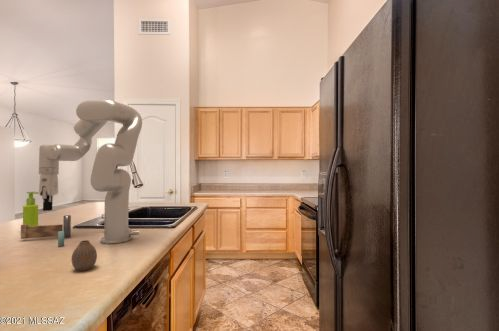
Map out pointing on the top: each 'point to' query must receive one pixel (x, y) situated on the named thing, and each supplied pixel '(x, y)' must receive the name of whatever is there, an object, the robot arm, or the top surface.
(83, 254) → the vase
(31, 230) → the gate
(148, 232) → the top surface
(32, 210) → the soap dispenser
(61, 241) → the post
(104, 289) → the top surface
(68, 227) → the hinge post
